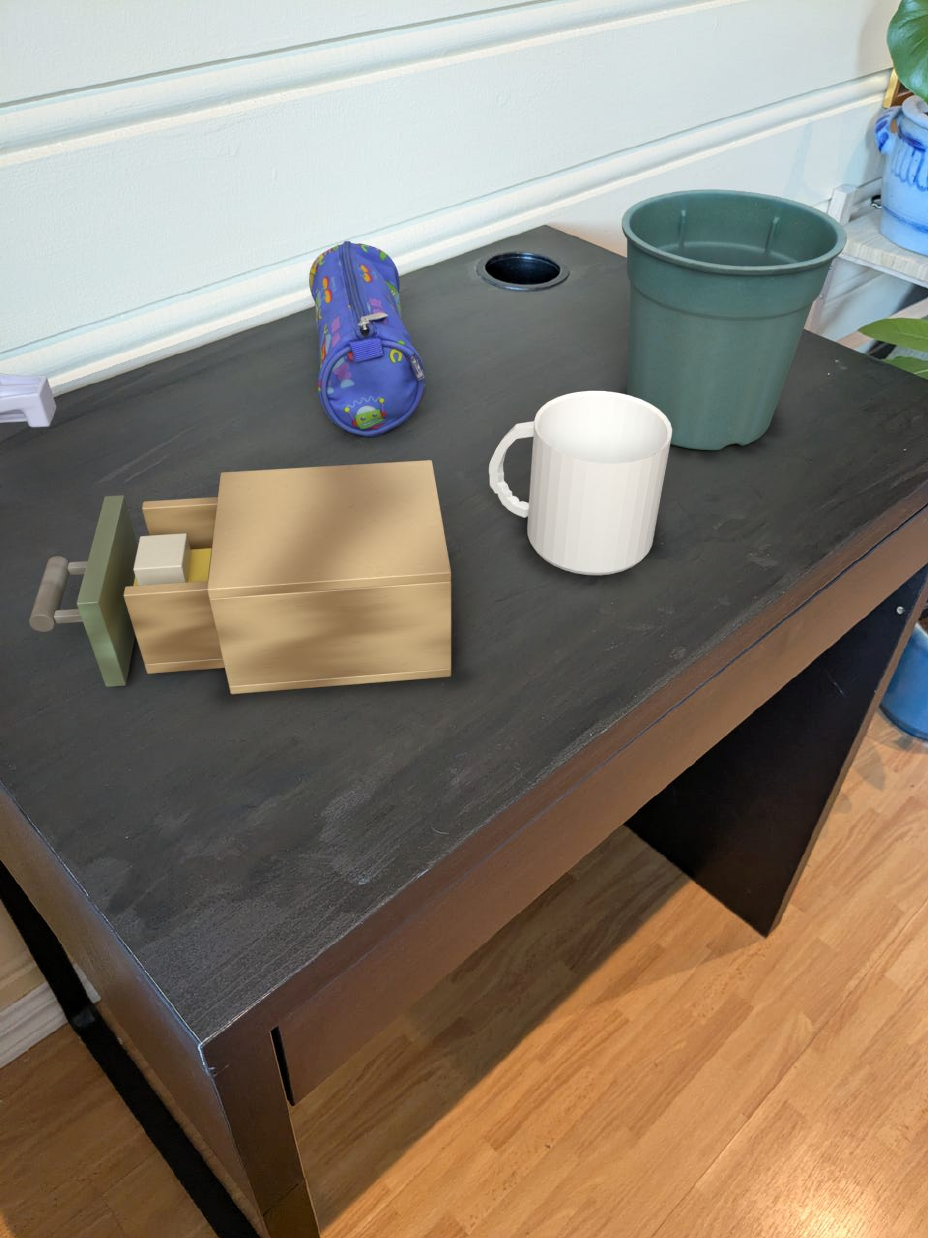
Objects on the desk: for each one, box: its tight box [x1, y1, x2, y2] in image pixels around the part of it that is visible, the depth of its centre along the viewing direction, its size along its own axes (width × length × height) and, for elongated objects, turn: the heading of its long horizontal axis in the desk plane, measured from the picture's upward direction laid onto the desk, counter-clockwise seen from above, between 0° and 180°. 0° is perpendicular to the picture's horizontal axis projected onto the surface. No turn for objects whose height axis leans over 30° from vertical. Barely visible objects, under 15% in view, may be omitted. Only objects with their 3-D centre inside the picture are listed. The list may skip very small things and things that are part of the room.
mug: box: [488, 390, 672, 576], centre depth 67 cm, size 12×9×9 cm
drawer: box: [28, 494, 225, 688], centre depth 59 cm, size 16×10×7 cm, turn 97°
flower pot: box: [621, 188, 848, 451], centre depth 77 cm, size 16×16×16 cm
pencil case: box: [308, 240, 426, 438], centre depth 83 cm, size 22×9×10 cm, turn 9°
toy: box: [133, 533, 212, 586], centre depth 59 cm, size 4×4×5 cm
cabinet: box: [207, 459, 452, 695], centre depth 60 cm, size 13×11×8 cm
